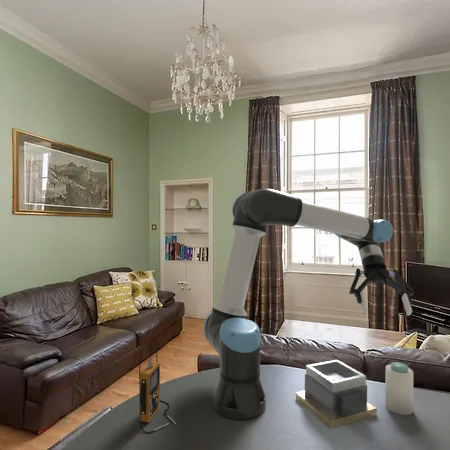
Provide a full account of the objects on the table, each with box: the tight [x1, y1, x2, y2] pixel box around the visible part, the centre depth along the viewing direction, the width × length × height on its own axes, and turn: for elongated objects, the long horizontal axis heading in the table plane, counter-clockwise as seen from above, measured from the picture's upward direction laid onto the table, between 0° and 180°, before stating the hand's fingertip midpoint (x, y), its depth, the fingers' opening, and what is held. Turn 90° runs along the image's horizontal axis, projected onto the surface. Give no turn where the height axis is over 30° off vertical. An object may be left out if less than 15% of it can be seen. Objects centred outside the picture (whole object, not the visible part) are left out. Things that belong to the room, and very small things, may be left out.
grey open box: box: [295, 359, 378, 430], centre depth 92 cm, size 15×16×10 cm
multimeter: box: [138, 338, 177, 434], centre depth 87 cm, size 15×10×20 cm
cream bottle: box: [384, 361, 414, 416], centre depth 92 cm, size 7×7×12 cm
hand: (387, 312), depth 103 cm, fingers open, 13 cm apart
